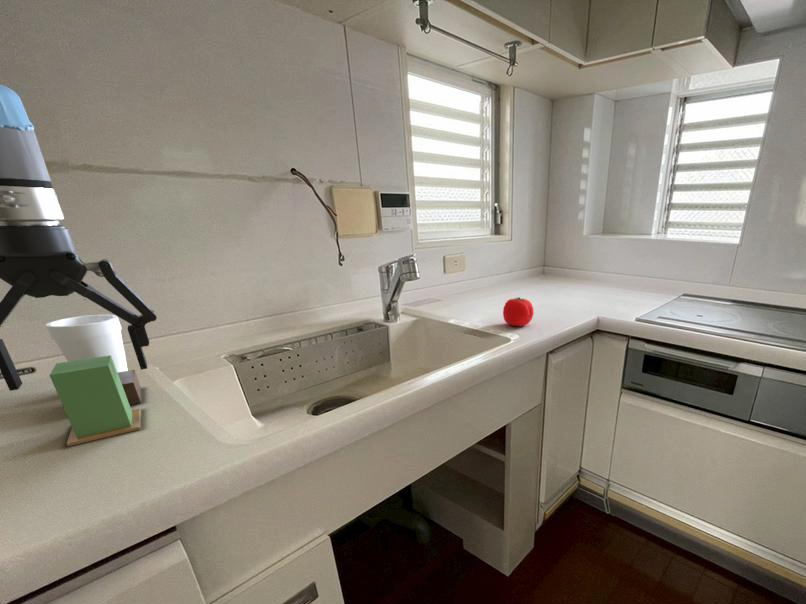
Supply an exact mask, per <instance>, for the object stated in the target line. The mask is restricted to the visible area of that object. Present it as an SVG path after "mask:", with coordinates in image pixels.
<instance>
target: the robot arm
mask: <svg viewBox="0 0 806 604" xmlns="http://www.w3.org/2000/svg"><path fill="white" fill-rule="evenodd" d="M64 220H65V215H64V213H63V210H62V208H61V205H60V202H59V199H58V196H57V193H56V190H55V188H54V187H53V184H52V179H51V177H50V174H49V171H48V168H47V166H46V162H45V159H44V156H43V153H42V150H41V147H40V144H39V141H38V138H37V134H36V132H35V126H34V124H33V123H32V122H31V121H30V118H29V116H28V114H27V111H26V108H25V106H24V104H23V101H22V99H21V98H20V96H19V94H17V93H16V91H15V90H12V89H11V88H9V87H8V86H7V85H3V84H0V280H2V281H3V282H5V283H6V284H8V285H10V286H11V287H10V288H9V290H8V291H7V292H6V294H5V295H4V296H3V299H1V301H0V328H2V327H1V325H2V324H3V323H5V322H6V321H7V319H8V318H9V316H11V314H12V313H13V311H14V310H15V309H16V307H17V306H18V305H19V303H20V302H21V301H22V300H23V299H24V297H25V296H27V297H32V298H35V299H41V298H46V297H50V296H54V297H68V296H70V295H72V294H73V293H76V294H78V295H79V296H80V297H83V298H85V299H88V300H89V301H91V302H92V303H95V304H96V305H98V306H99V307H101V308H103V309H104V310H106V311H108V312H109V313H111V314H112V315H116V316H117V317H118V318H119V319H121V320H123V321H124V322H126V323H128V324H129V325H127V332H128V335H129V338H130V341H131V343H132V347H133V350H134V353H135V356H136V359H137V362H138V365H139V368H140V371H142V370H147V369H148V362H147V358H146V356H145V353H144V349H143V348H145V347H149V346H150V338H149V335H148V332H147V329H146V325H147V324H148V323H151V322H155V321H156V320H157V317H158V316H157V313H156V311H155V310H153V309H152V308H151V306H149V305H148V304H147V303H146V302H145V301H144V300H143V299H142V297H140V296H139V295H138V294H137V293H136V292H135V291H134V290H133V289H132V288H131V286H129V285H128V284H127V283H126V282H125V281H124V280H123V279H122V278H121V277H120V276H119V275H118V273H116V271H115V267H114V266H113V264H112V262H111V261H110V260H109V259H106V258H102V259H101V260H99V261H91V262H83V261H82V260H81V258H80V257H79V255H78V253H77V249H76V247H75V244H74V241H73V238H72V235H71V233H70V230H69V227H66V226H65V225H61V223H60V222H63V221H64ZM88 272H93V273H94V274H95V275H96V276H97V277H99V278H105V280H106V281H107V282H108V284H110V285H111V286H112V288H114V290H116V292H118V293H119V294H120V295H121V296H122V297H123V298H124V299H125V300H126V301H127V302H128V303H129V304H130V305H132V306H133V308H134V309H136V310H137V311H138V312H139V313H140V314H139V315H138V314H137V313H135V312H133V311H131V310H130V309H129V308H127V307H125V306H123V305H122V304H120V303H118V302H117V301H115V300H113V299H112V298H110V297H109V296H107V295H105V294H104V293H102V292H101V291H99V290H97V289H96V288H94V287H93V286H91V284H88V282H85V281H84V280H83V279H84V278H85V276H86V275H87V273H88ZM0 373H1V375H2V377H3V379H4V382H5V384H6V386H7V387H8V390H9V391H17V390H19V389H20V388H21V386H22V385H23V381H22V378H21V377H20V374H19V373H18V370H17V368H16V366H15V364H14V361H13V360H12V357H11V355H10V352H9V351H8V348H7V346H6V344H5V342H4V339H3V338H2V339H1V338H0Z"/></svg>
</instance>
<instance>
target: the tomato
mask: <svg viewBox="0 0 806 604" xmlns="http://www.w3.org/2000/svg"><path fill="white" fill-rule="evenodd" d="M534 313H535V311H534V307H533V305H532V302H531V301H530V300H528V299H526V298H522V297H515V298H509V299H507V301H506V302H505V304H504V306H503V310H502V317H503V320H504V321H505V323H507V324H508V325H509V326H512V327H522V326H527V325H528V324H530V322H531V321H532V320H533V317H534Z"/></svg>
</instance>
